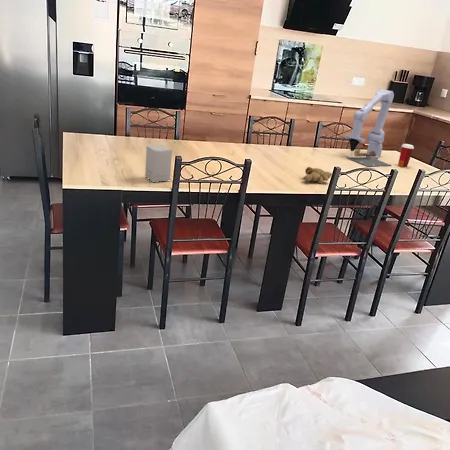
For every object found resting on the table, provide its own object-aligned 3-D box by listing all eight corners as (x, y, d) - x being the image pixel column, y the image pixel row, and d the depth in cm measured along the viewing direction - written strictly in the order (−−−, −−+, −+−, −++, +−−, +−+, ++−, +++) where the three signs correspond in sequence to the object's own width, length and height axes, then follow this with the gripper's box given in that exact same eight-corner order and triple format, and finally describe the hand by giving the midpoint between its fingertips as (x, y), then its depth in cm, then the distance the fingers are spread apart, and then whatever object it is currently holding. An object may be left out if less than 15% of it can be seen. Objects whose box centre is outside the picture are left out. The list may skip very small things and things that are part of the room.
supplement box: (170, 181, 207) (172, 150, 201) (152, 183, 202) (154, 150, 196) (162, 175, 214) (164, 144, 208) (144, 177, 209) (146, 145, 203)
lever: (372, 154, 299) (373, 147, 298) (377, 156, 296) (378, 149, 294) (352, 154, 291) (353, 148, 289) (356, 156, 288) (358, 149, 286)
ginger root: (326, 174, 244) (329, 161, 240) (331, 190, 232) (335, 177, 227) (297, 172, 244) (300, 159, 239) (301, 188, 231) (304, 175, 226)
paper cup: (408, 166, 293) (414, 145, 287) (408, 168, 286) (414, 147, 281) (396, 163, 295) (401, 142, 289) (396, 166, 288) (401, 145, 283)
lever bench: (370, 157, 302) (371, 154, 301) (391, 166, 287) (392, 162, 286) (346, 158, 293) (347, 154, 292) (367, 166, 278) (368, 162, 276)
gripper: (344, 127, 291) (339, 148, 296) (362, 132, 280) (357, 154, 286) (350, 127, 295) (346, 147, 300) (369, 132, 285) (364, 153, 290)
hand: (352, 150), depth 293 cm, fingers closed
